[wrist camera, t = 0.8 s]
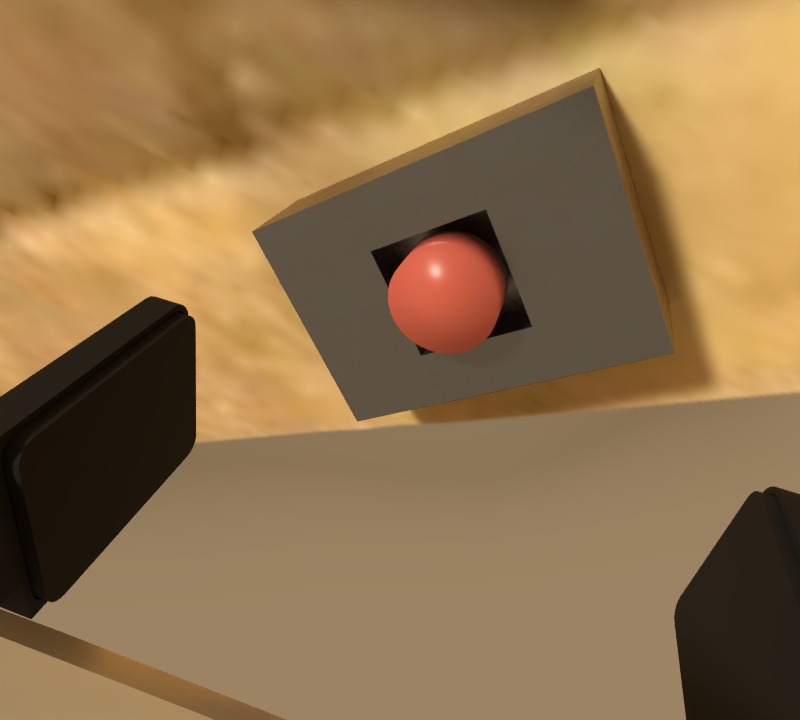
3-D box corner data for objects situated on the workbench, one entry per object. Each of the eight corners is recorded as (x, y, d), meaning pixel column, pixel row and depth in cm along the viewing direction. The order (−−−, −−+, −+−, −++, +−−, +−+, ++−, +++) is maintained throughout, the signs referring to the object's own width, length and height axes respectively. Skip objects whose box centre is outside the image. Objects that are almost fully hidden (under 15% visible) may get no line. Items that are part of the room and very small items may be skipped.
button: (484, 215, 33) (472, 234, 30) (523, 313, 35) (515, 338, 32) (387, 250, 35) (369, 270, 33) (429, 338, 38) (415, 364, 35)
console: (599, 67, 32) (593, 85, 27) (669, 302, 37) (674, 353, 32) (296, 200, 41) (252, 231, 36) (386, 374, 46) (357, 421, 42)
